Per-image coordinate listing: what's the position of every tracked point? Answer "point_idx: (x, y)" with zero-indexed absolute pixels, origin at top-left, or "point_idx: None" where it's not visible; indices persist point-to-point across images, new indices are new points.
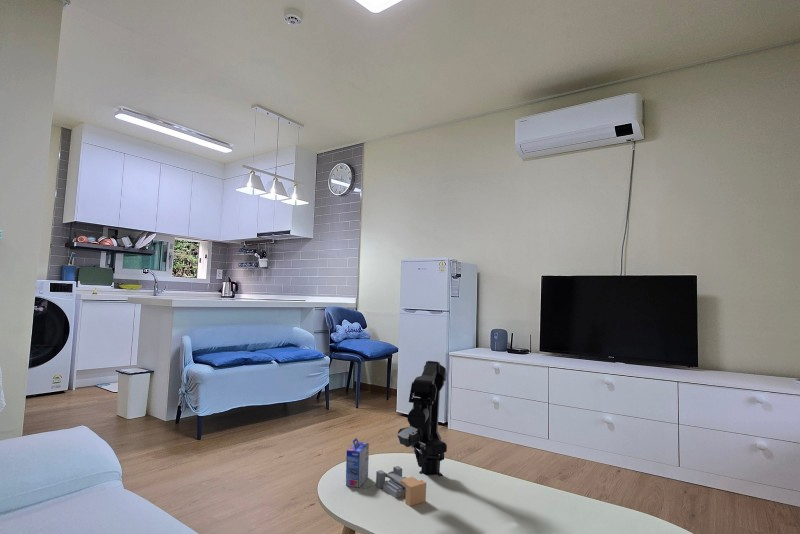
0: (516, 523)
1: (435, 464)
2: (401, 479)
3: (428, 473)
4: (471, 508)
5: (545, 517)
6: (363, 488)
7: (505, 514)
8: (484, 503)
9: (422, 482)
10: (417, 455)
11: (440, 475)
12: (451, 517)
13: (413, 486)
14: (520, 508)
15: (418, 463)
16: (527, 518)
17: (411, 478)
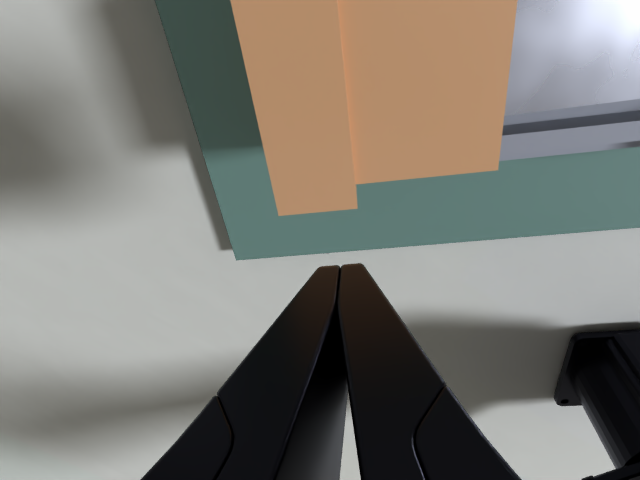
0: (24, 388)
1: (608, 435)
2: (604, 59)
3: (610, 357)
4: (179, 326)
5: (65, 465)
6: None
7: (100, 396)
8: (210, 388)
9: (299, 184)
10: (354, 424)
11: (557, 392)
12: (102, 193)
13: (235, 21)
14: (139, 450)
15: (351, 291)
16: (61, 429)
17: (462, 132)
